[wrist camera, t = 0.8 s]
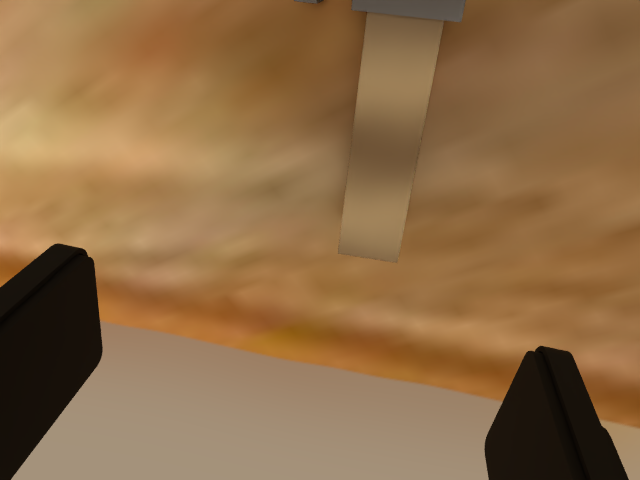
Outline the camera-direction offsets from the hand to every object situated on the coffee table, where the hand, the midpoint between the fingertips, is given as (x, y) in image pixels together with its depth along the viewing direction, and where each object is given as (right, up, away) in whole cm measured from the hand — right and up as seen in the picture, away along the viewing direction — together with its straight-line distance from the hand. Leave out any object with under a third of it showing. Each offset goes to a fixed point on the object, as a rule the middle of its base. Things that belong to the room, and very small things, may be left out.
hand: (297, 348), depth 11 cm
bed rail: (+4, +9, +17) cm, 19 cm away
